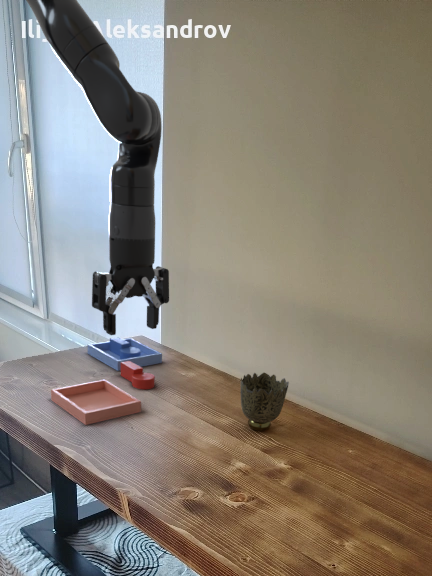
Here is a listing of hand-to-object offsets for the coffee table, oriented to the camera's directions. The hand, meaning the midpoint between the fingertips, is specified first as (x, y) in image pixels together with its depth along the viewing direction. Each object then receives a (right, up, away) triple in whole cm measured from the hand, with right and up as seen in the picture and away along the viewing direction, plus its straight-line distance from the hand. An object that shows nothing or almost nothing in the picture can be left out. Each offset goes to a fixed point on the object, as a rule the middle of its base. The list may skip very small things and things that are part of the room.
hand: (131, 330), depth 110 cm
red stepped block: (+1, -9, +3) cm, 9 cm away
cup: (+22, -18, -10) cm, 30 cm away
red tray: (-5, -14, -8) cm, 17 cm away
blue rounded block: (-3, -2, +13) cm, 14 cm away
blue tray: (-3, -2, +14) cm, 14 cm away
